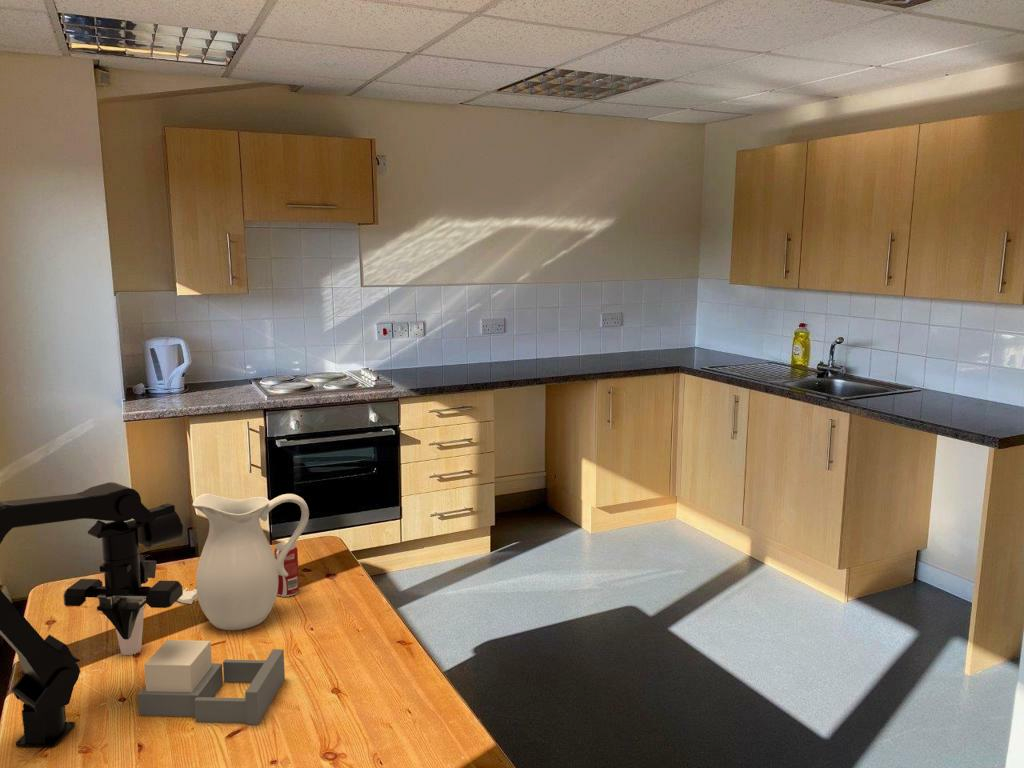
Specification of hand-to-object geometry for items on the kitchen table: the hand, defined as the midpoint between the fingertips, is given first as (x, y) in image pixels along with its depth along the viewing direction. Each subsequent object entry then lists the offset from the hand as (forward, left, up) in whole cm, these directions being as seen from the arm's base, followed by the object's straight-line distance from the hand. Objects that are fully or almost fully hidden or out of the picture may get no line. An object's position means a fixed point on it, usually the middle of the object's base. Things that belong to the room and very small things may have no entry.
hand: (127, 638), depth 145 cm
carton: (0, -9, -8) cm, 12 cm away
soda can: (+46, -15, -12) cm, 50 cm away
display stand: (0, -15, -12) cm, 19 cm away
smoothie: (+17, +8, -12) cm, 22 cm away
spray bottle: (+50, +3, -12) cm, 52 cm away
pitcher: (+33, -12, -12) cm, 37 cm away
